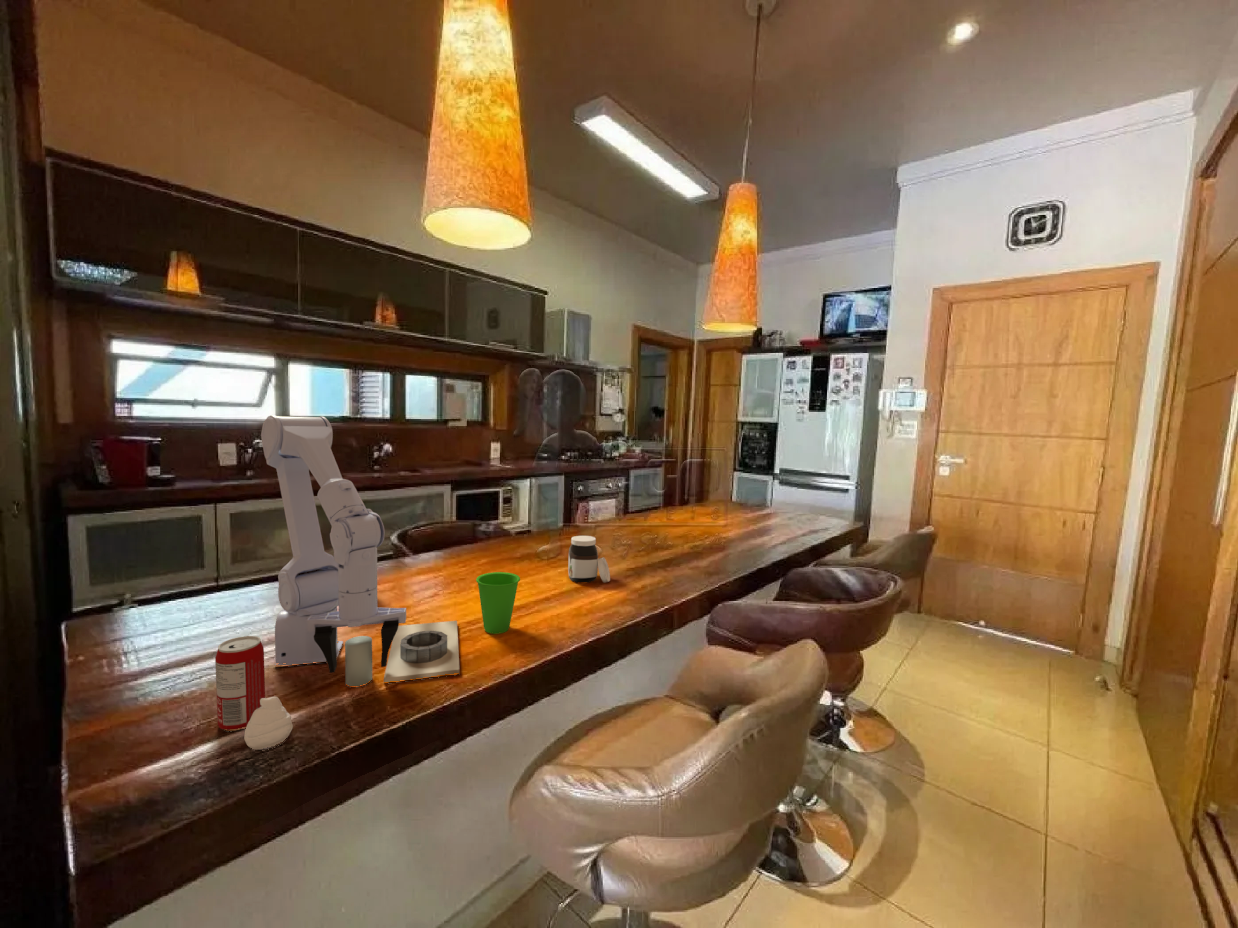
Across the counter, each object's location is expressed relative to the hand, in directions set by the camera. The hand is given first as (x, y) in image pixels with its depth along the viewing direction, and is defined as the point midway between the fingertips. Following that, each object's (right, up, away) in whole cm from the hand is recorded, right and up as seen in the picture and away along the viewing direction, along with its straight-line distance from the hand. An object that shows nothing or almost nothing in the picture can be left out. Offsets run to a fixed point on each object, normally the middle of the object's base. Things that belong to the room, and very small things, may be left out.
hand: (359, 667), depth 86 cm
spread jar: (+35, +1, +58) cm, 68 cm away
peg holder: (+6, -2, +12) cm, 14 cm away
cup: (+18, -1, +23) cm, 29 cm away
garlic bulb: (-4, -4, -16) cm, 17 cm away
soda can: (-11, -3, -12) cm, 16 cm away
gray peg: (0, -3, 0) cm, 2 cm away
